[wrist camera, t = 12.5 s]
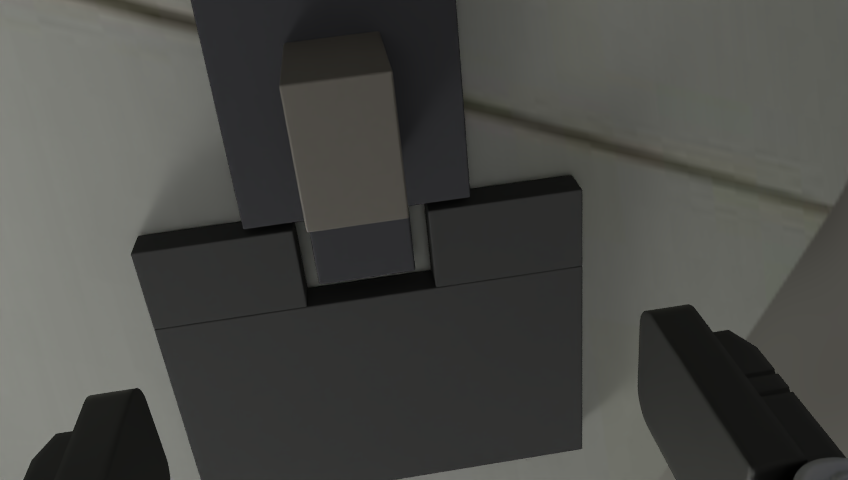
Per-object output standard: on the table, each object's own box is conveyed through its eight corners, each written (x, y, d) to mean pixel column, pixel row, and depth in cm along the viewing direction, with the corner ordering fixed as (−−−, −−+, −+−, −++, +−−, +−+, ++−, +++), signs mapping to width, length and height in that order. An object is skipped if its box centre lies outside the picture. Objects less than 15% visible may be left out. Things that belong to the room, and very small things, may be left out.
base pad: (572, 174, 34) (582, 189, 32) (573, 428, 40) (582, 449, 39) (137, 235, 33) (130, 253, 31) (213, 487, 39) (210, 510, 38)
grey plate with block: (446, -45, 29) (480, -10, 23) (469, 245, 35) (500, 330, 29) (194, -15, 28) (166, 29, 23) (259, 275, 34) (250, 369, 28)
